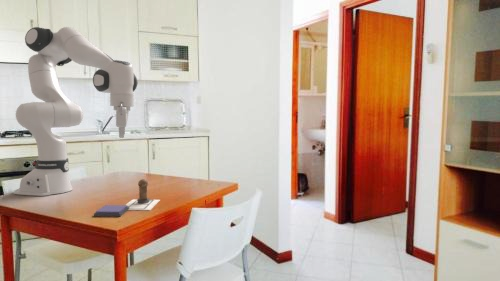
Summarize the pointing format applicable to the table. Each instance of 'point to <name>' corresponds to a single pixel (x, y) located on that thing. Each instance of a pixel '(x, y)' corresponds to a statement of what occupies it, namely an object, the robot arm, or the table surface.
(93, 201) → the table surface
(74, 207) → the table surface
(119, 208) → the inkpad
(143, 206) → the sheet
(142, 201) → the stamp
